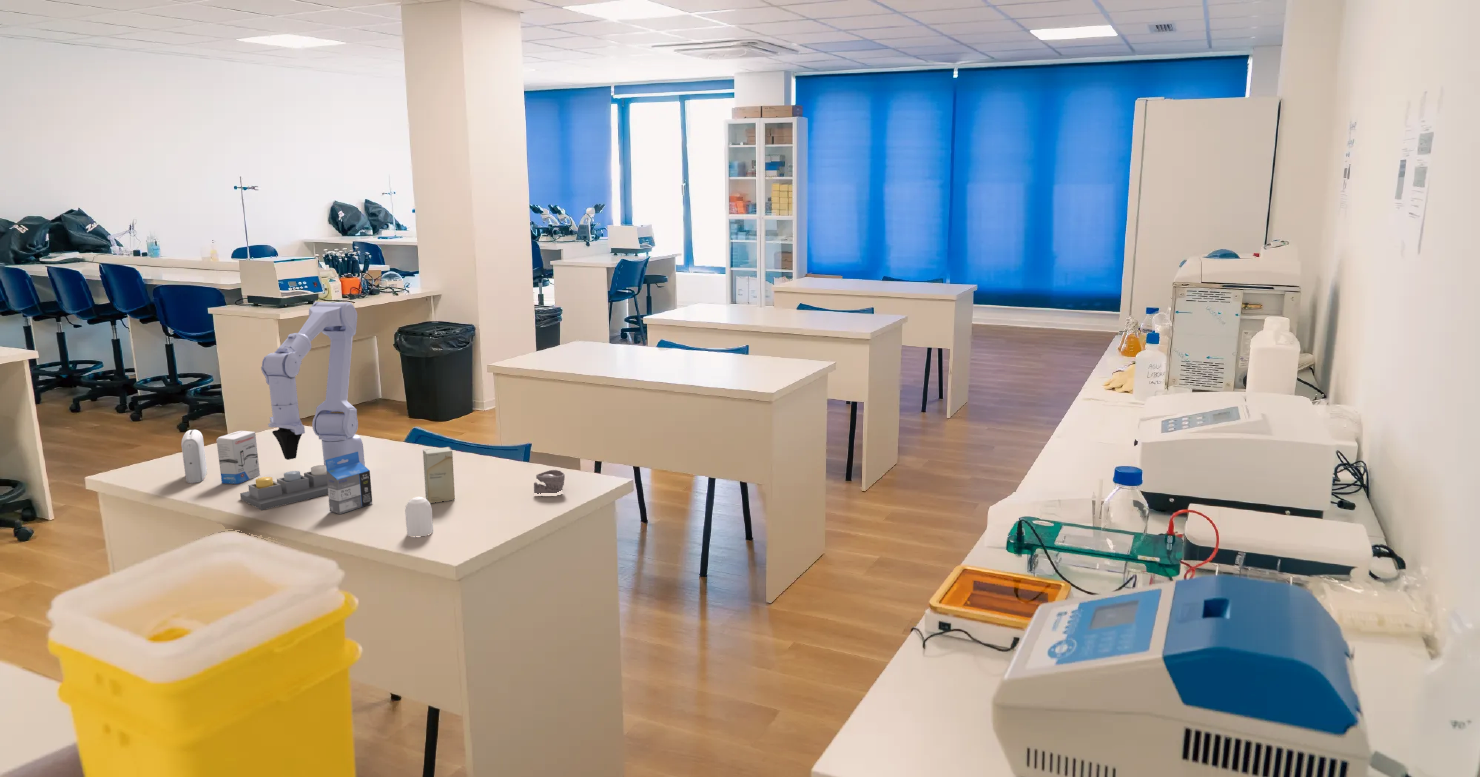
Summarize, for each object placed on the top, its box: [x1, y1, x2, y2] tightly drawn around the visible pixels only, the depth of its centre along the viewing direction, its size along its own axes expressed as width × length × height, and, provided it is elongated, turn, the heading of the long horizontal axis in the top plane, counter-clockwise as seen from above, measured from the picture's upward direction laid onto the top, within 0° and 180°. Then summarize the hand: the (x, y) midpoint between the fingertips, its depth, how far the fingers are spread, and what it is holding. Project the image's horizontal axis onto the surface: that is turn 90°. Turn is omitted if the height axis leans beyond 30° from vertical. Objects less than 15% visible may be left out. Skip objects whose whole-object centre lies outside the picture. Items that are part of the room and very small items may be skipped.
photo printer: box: [181, 429, 208, 484], centre depth 242 cm, size 10×4×12 cm, turn 23°
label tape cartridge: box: [325, 451, 373, 515], centre depth 218 cm, size 9×4×12 cm, turn 148°
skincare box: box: [422, 446, 456, 504], centre depth 224 cm, size 6×4×12 cm
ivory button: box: [310, 464, 327, 476], centre depth 233 cm, size 4×4×3 cm
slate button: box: [283, 470, 302, 482], centre depth 229 cm, size 4×4×3 cm
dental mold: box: [533, 469, 566, 494], centre depth 229 cm, size 8×7×5 cm
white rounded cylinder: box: [404, 496, 434, 538], centre depth 203 cm, size 5×5×8 cm
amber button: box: [255, 476, 274, 489], centre depth 224 cm, size 4×4×3 cm
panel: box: [239, 471, 328, 511], centre depth 229 cm, size 20×12×4 cm, turn 138°
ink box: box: [216, 430, 261, 485], centre depth 241 cm, size 9×5×12 cm, turn 168°
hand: (290, 458), depth 228 cm, fingers closed
